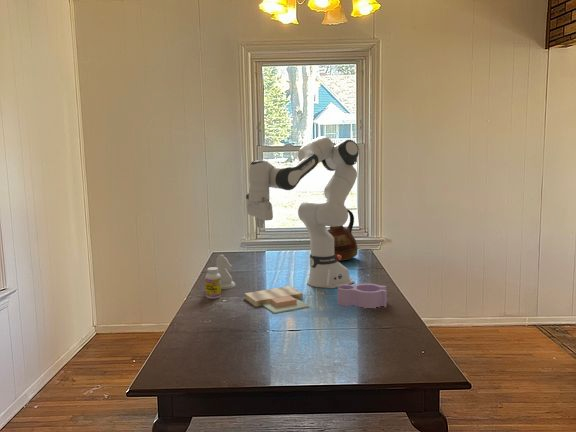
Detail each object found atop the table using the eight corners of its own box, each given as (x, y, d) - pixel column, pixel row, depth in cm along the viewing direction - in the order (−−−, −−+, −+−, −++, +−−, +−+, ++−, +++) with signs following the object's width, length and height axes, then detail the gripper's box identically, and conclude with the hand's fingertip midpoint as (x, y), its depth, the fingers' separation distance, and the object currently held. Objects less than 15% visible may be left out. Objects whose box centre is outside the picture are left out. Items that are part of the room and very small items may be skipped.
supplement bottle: (203, 298, 220) (202, 270, 218) (209, 294, 226) (208, 266, 224) (218, 299, 218) (217, 270, 216) (223, 295, 224) (222, 266, 222)
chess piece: (230, 289, 232) (229, 258, 229) (210, 288, 235) (209, 256, 233) (238, 283, 241) (237, 253, 239) (219, 282, 244) (218, 251, 242)
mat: (296, 299, 217) (296, 298, 217) (309, 307, 207) (309, 305, 207) (262, 305, 210) (262, 304, 210) (274, 313, 200) (274, 312, 200)
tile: (290, 300, 215) (290, 295, 214) (296, 304, 209) (296, 299, 209) (270, 303, 211) (270, 298, 210) (276, 307, 205) (276, 302, 205)
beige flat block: (289, 291, 229) (289, 285, 229) (302, 298, 218) (302, 293, 218) (244, 298, 219) (244, 293, 219) (255, 306, 209) (255, 301, 208)
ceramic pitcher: (316, 257, 292) (316, 205, 287) (348, 254, 298) (349, 203, 293) (329, 265, 274) (329, 210, 269) (363, 262, 280) (364, 208, 275)
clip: (337, 307, 207) (337, 291, 206) (338, 298, 219) (338, 282, 218) (386, 309, 204) (387, 293, 203) (385, 299, 216) (385, 284, 215)
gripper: (276, 198, 216) (276, 230, 218) (256, 194, 234) (257, 223, 236) (262, 199, 213) (263, 232, 215) (244, 194, 231) (244, 224, 233)
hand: (260, 227), depth 226 cm, fingers closed
